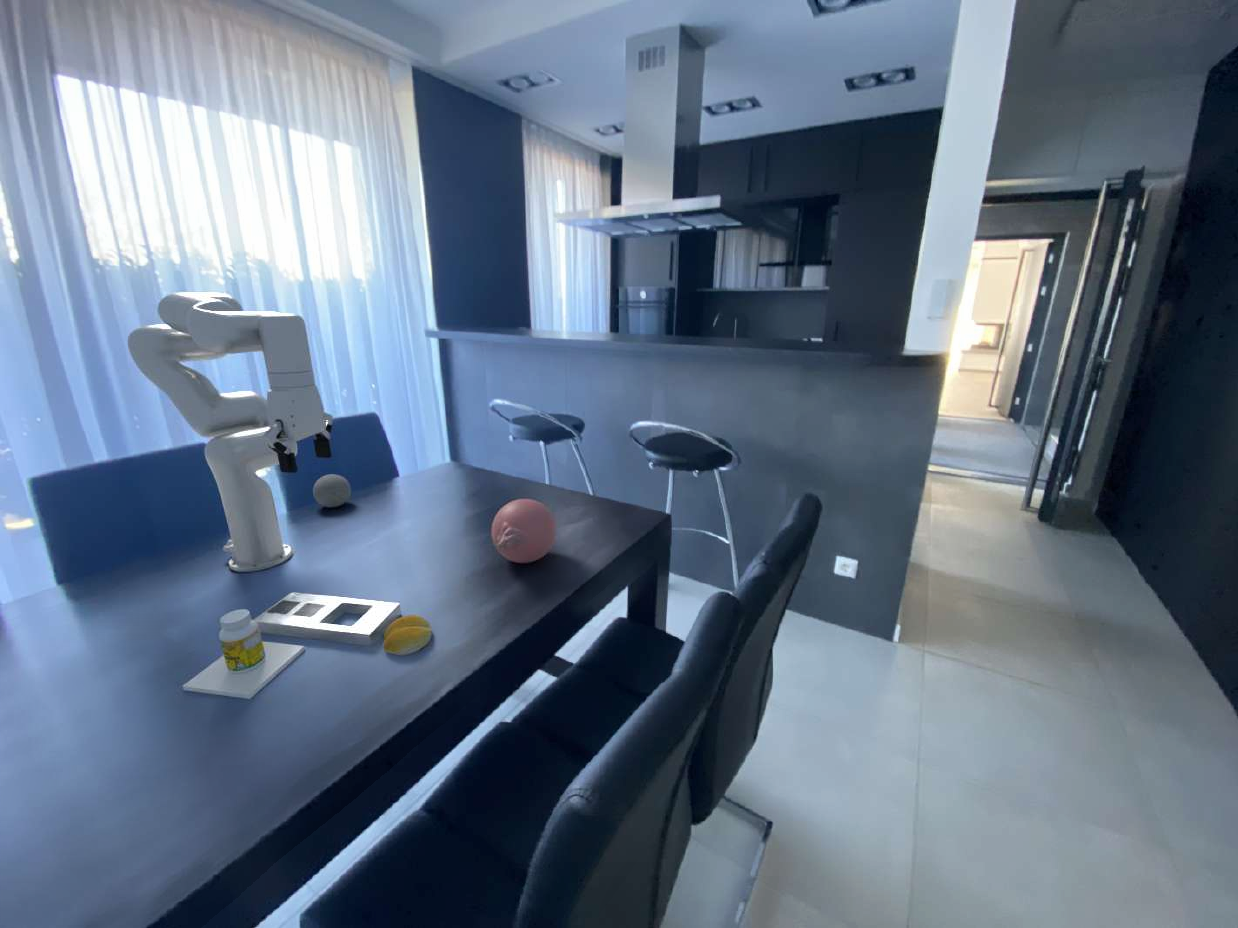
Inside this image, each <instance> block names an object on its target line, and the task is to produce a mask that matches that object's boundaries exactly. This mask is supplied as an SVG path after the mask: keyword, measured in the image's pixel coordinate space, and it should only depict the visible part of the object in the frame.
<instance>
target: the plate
mask: <svg viewBox="0 0 1238 928" xmlns="http://www.w3.org/2000/svg"><path fill="white" fill-rule="evenodd" d="M262 642H263V646H264V650H265V655H266V658H265V660H264V662H263V663H262V664H261V665H260V666H259V667H257V668H255V669H253V670H251V671H249V672H245V673H239V674H236V673H231V672H230V671H228V668H227V665H226V661H225V657H224V654H223V655H222V656H221V657H219V658H218V659H216V660H215V661H214V662H212V664H210V665H208V666H207V667H205V668H204V669H203V670H201V672H199V673H197V675H195V676H194V677H192V678H190V680H189V681H187V682H186V683H184V684H183V685H182V689H183V690H184V691H189V692H196V693H201V694H202V693H203V694H211V695H219V696H226V697H232V698H240V699H247V700H251V699H252V698H253V697H254V696H255V695H257V693H258V692H260V690H261V689H263V688H264V687H265V686H266V685H267V684H268V683H269V682H271V681H272V680H273V679H274V678H275V677H276V676H278V675H279V674H280V673H281V672H282V671H283V670H284V669H286V668H287V666H289V665H290V664H291V663H292V662H293V661H295V660H296V659H297V658H298V657H299V656H301V654H302V653H303V652H304V651H305V650H306V648H305V646H304V645H299V644H297V645H296V644H290V643H289V644H288V643H281V642H280V643H279V642H272V641H264V640H262Z"/></svg>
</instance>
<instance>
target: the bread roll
mask: <svg viewBox="0 0 1238 928" xmlns="http://www.w3.org/2000/svg"><path fill="white" fill-rule="evenodd" d="M432 634H433V633H432V628H431V625H430V623H429V622H428V621H427V620H426V618H424V617H421V616H419V615H413V614H412V615H404V616H401V617H398V618H397V619H396V620H395V621H394V622H392V623H391V624H390V625H389V626H388V627H387V629H386V630H385V632H384V633H383V635H384V637H383V638H384V642H383V645H382V648H383V650H384V652H386V653H388V654H391V655H397V656H407V655H411V654H413V653H417V652H418V651H420V650H421V649H422V648H424V647H425V646H427V644H428V643H430V640H431V637H432Z"/></svg>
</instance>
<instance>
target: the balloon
mask: <svg viewBox="0 0 1238 928" xmlns="http://www.w3.org/2000/svg"><path fill="white" fill-rule="evenodd" d="M553 515H554V514H553V513H552V512H551V511H550V509H548V507H546V505H544V504H543V503H541V502H540V501H537V500H534V499H530V498H518V499H515V500H512V501H510V502H508V503H507V504H505V505H504V506H502V507H501V508H500V509H499V511H498V512H497V513H496V515H495V516H494V519H493V521H492V525H491V539H492V542H493V544H494V547H495V548H496V550H497V551H498V553H499V554H500V555H501V556H502V557H504V558H505V559H507V560H508V561H511V562H513V563H518V564H529V563H532V562H536V561H537V560H540V559H542V558H543V557H544V556H545V555H547V553H548V552H549V551H550V550H551V549H552V548H553V545H554V543H555V540H556V536H557V523H556V520H555V518H554V516H553Z"/></svg>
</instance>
